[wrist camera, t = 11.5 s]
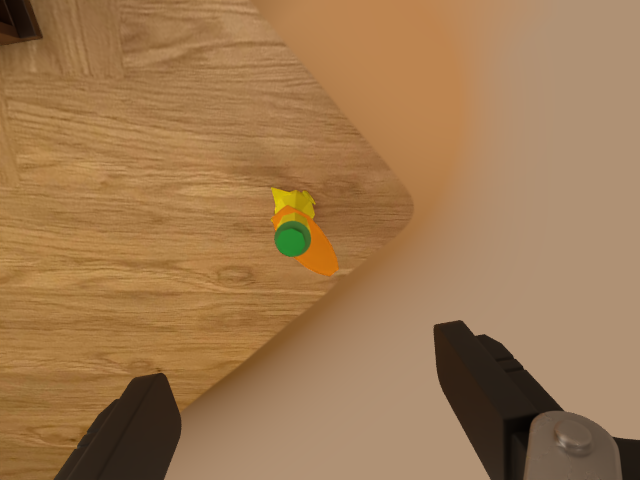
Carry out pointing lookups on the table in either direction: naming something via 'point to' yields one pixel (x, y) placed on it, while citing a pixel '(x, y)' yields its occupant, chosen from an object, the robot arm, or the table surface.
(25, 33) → the cupboard
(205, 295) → the table surface
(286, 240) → the toy figure
